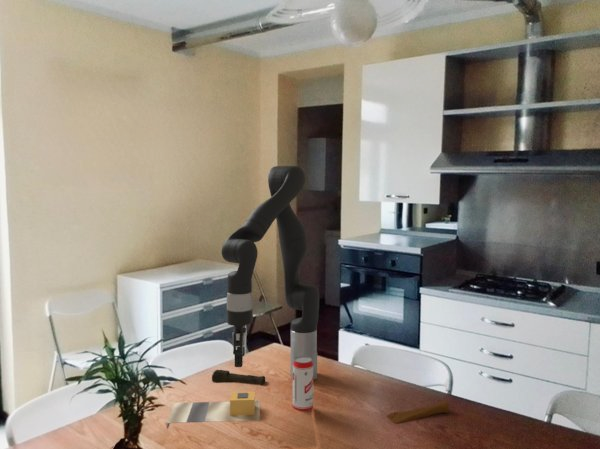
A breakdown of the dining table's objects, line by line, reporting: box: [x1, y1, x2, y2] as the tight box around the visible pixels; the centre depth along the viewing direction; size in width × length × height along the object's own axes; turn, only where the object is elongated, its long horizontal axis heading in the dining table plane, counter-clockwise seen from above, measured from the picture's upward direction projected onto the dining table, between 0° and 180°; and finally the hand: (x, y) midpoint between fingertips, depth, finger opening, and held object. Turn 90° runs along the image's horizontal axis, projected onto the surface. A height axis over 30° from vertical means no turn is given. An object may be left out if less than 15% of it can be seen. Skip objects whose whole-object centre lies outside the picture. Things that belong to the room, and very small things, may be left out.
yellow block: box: [229, 391, 256, 415], centre depth 140 cm, size 7×6×5 cm
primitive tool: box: [386, 400, 450, 425], centre depth 141 cm, size 19×6×4 cm, turn 109°
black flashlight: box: [211, 369, 266, 387], centre depth 162 cm, size 19×4×5 cm, turn 74°
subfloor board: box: [166, 400, 261, 429], centre depth 140 cm, size 26×12×2 cm, turn 94°
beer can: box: [292, 356, 314, 412], centre depth 143 cm, size 6×6×16 cm
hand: (239, 361), depth 139 cm, fingers open, 8 cm apart
